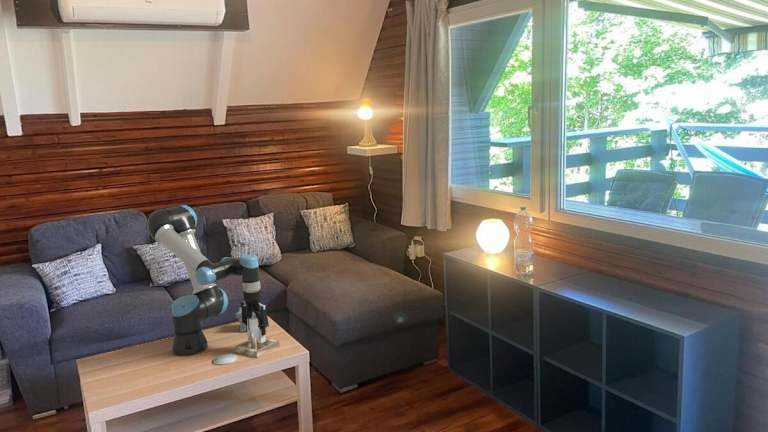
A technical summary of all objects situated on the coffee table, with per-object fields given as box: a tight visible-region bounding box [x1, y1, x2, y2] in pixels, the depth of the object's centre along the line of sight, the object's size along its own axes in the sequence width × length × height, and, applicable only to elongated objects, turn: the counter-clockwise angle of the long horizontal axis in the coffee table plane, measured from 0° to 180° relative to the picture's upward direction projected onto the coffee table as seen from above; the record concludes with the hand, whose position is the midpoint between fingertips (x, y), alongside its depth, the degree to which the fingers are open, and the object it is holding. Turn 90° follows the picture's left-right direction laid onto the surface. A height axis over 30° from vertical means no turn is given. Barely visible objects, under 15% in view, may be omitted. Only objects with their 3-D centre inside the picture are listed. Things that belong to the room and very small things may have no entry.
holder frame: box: [234, 337, 281, 358], centre depth 270 cm, size 14×14×2 cm
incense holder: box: [235, 306, 254, 333], centre depth 295 cm, size 10×8×10 cm
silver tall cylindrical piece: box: [247, 314, 265, 350], centre depth 268 cm, size 7×7×15 cm
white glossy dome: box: [212, 353, 238, 366], centre depth 260 cm, size 10×10×1 cm
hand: (256, 340), depth 269 cm, fingers closed on silver tall cylindrical piece, 7 cm apart
